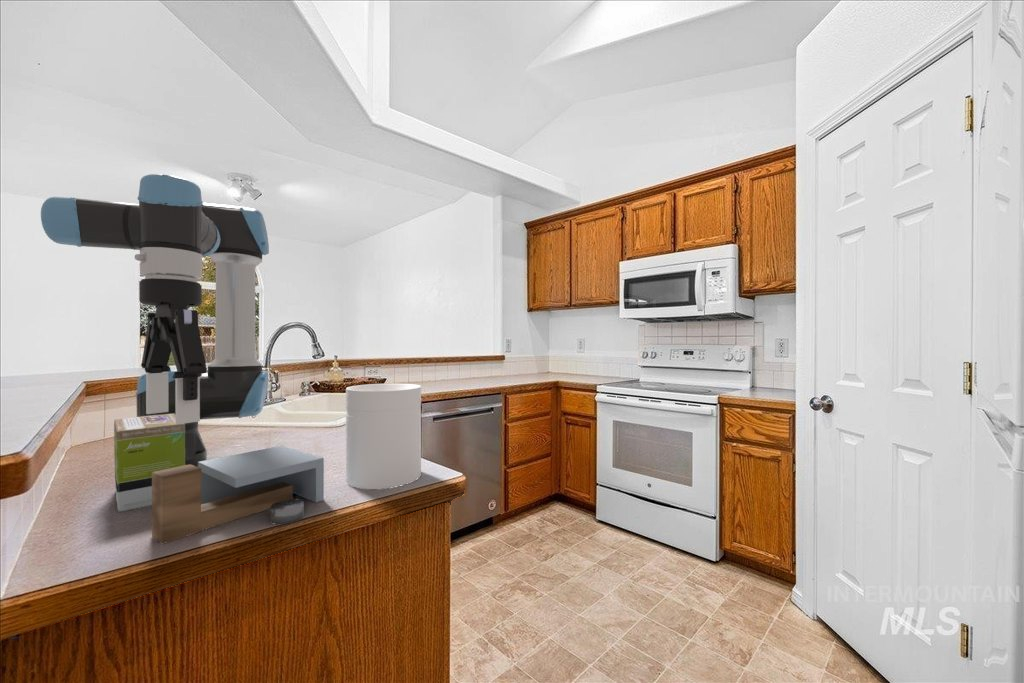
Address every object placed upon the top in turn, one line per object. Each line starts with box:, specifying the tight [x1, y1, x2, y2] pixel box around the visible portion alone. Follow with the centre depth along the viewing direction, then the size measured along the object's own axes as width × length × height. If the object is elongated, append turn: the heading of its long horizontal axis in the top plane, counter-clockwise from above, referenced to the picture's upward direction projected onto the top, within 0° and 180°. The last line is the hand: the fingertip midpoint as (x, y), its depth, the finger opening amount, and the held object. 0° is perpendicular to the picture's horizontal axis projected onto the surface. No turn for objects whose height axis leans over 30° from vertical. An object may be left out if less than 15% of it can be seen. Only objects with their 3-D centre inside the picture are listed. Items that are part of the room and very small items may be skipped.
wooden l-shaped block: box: [151, 464, 294, 544], centre depth 73 cm, size 4×20×10 cm, turn 147°
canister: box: [345, 382, 422, 490], centre depth 94 cm, size 16×16×20 cm
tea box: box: [113, 413, 186, 513], centre depth 83 cm, size 15×10×15 cm
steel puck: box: [269, 498, 305, 525], centre depth 72 cm, size 5×5×2 cm
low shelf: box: [197, 445, 325, 504], centre depth 79 cm, size 16×15×8 cm
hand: (171, 417), depth 66 cm, fingers open, 13 cm apart
